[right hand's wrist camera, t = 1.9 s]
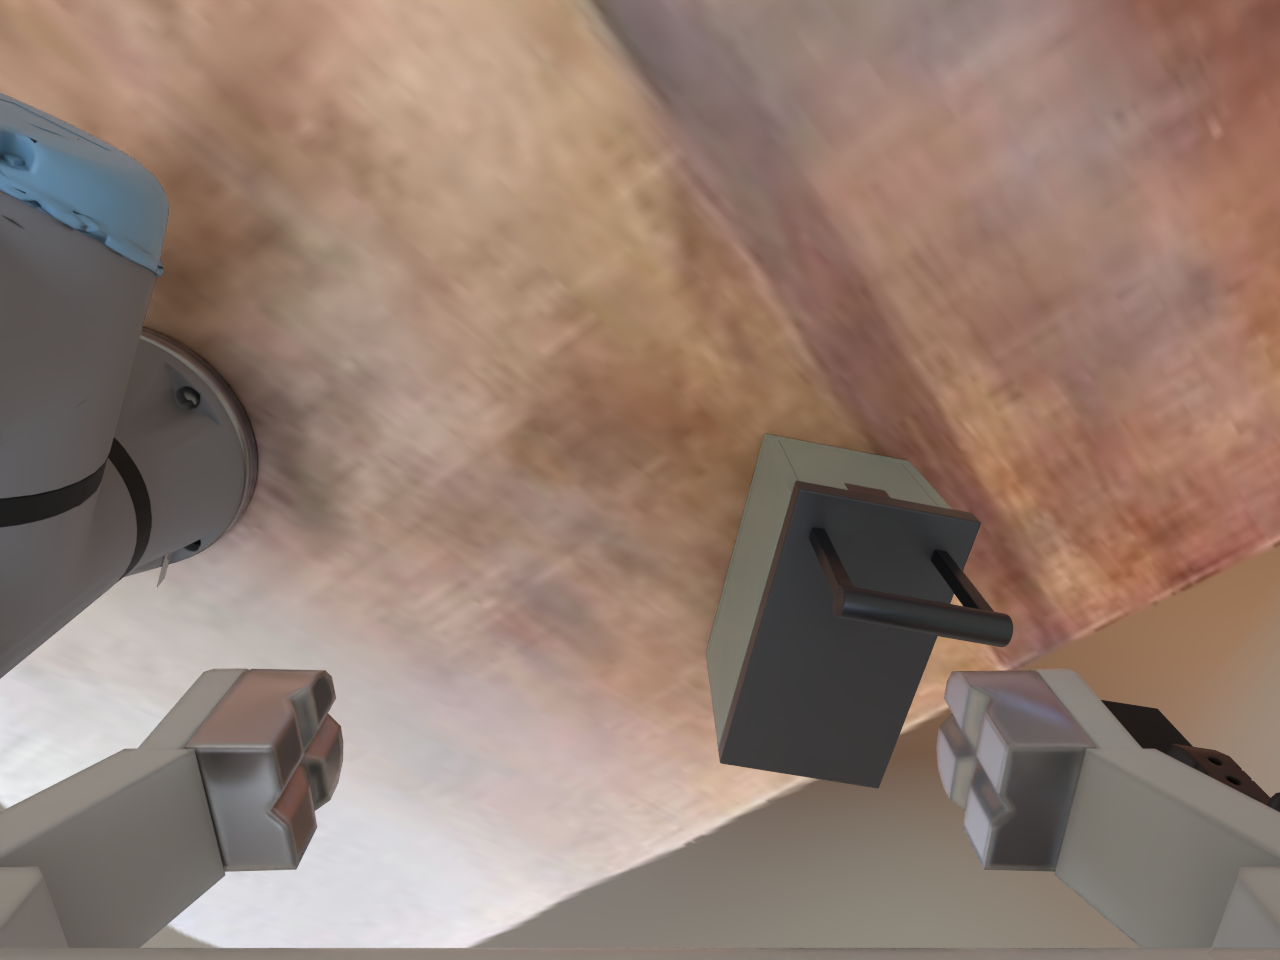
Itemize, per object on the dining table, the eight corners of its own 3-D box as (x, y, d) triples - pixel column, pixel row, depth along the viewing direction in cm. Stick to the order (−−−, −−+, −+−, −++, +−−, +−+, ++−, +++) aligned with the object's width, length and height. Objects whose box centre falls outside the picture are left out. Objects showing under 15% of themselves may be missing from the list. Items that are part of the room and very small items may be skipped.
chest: (764, 432, 50) (791, 492, 41) (909, 460, 51) (967, 525, 42) (705, 653, 56) (717, 748, 47) (836, 675, 57) (872, 773, 48)
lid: (795, 479, 41) (833, 559, 33) (972, 512, 42) (1053, 598, 33) (717, 749, 47) (733, 872, 39) (873, 774, 48) (920, 900, 40)
